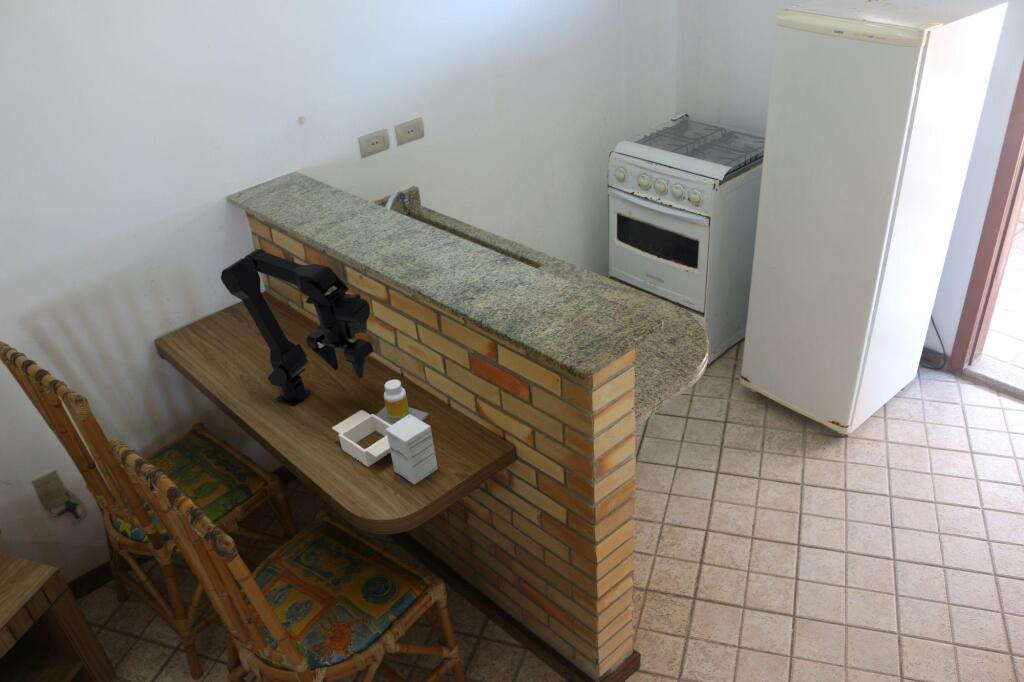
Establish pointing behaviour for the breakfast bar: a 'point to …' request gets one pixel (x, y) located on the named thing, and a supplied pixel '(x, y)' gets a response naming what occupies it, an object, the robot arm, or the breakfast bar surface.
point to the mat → (413, 412)
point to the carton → (357, 430)
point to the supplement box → (412, 448)
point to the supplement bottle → (395, 400)
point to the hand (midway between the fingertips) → (348, 373)
